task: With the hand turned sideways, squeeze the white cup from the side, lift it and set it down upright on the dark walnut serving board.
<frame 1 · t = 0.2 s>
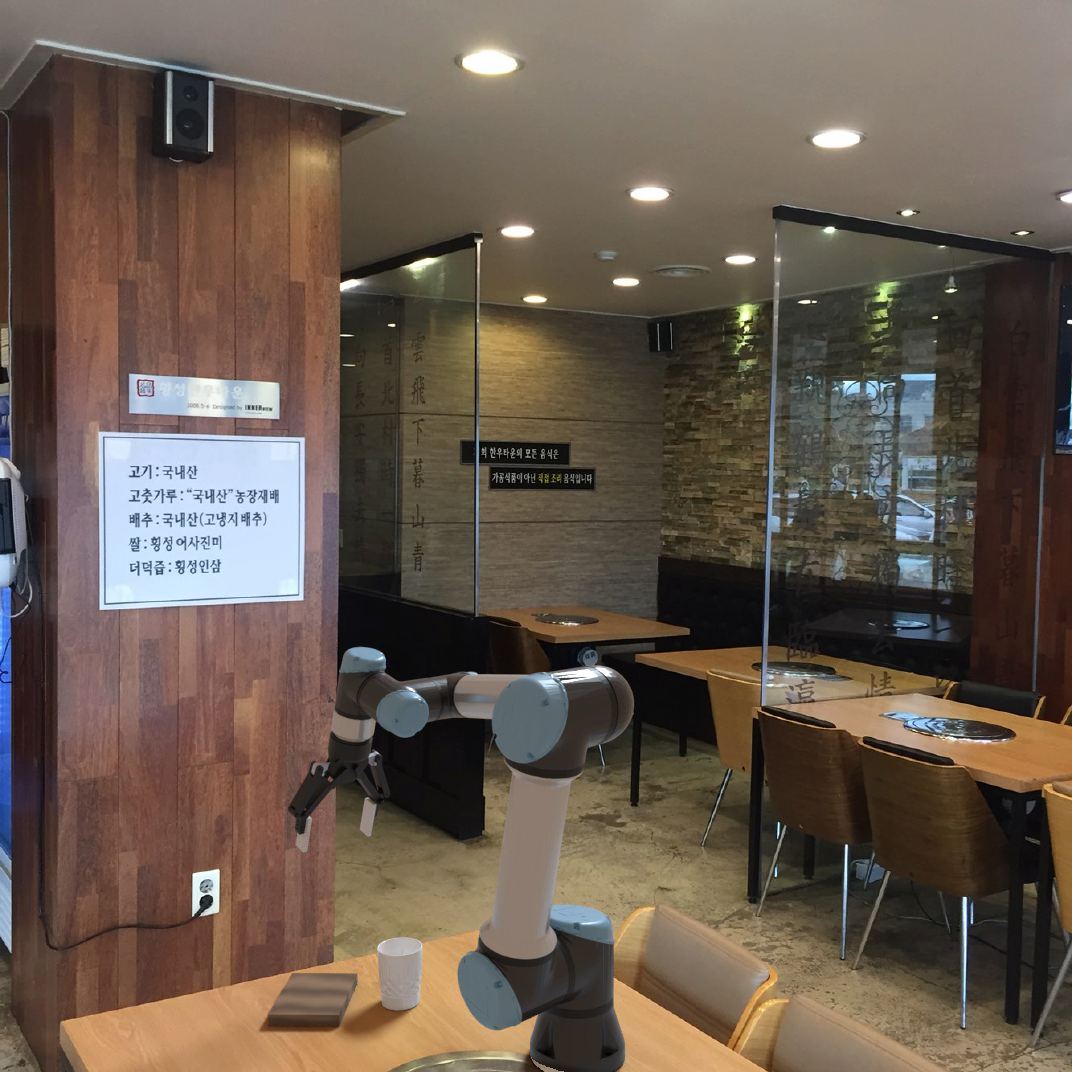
hand: (333, 840, 199), 27 cm above the table, tool tilted 15°, fingers open, 13 cm apart
white cup: (400, 1003, 193), on the table
walnut board: (314, 1004, 192), on the table
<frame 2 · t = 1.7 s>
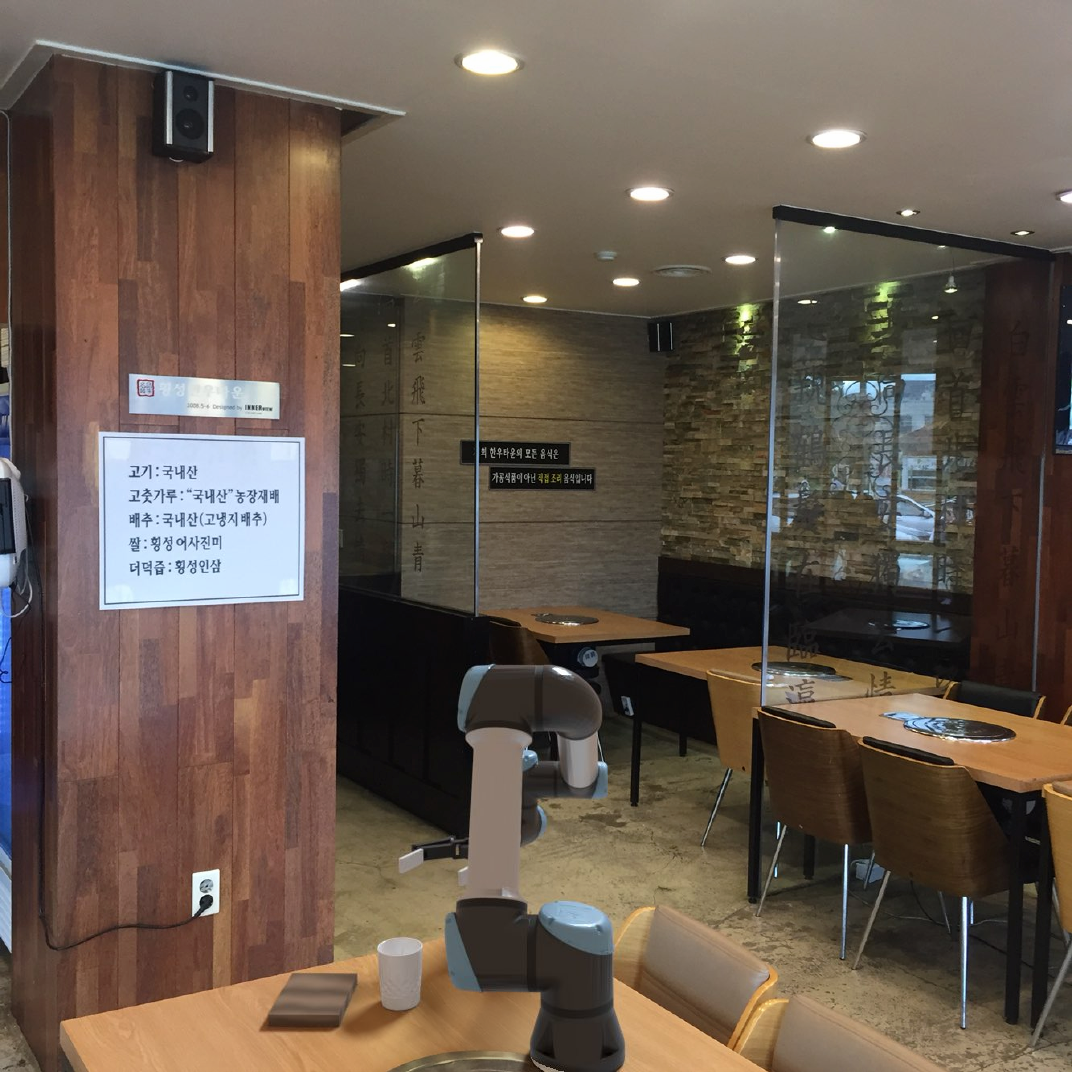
hand: (429, 872, 201), 20 cm above the table, tool horizontal, fingers open, 13 cm apart
nothing on the table moved.
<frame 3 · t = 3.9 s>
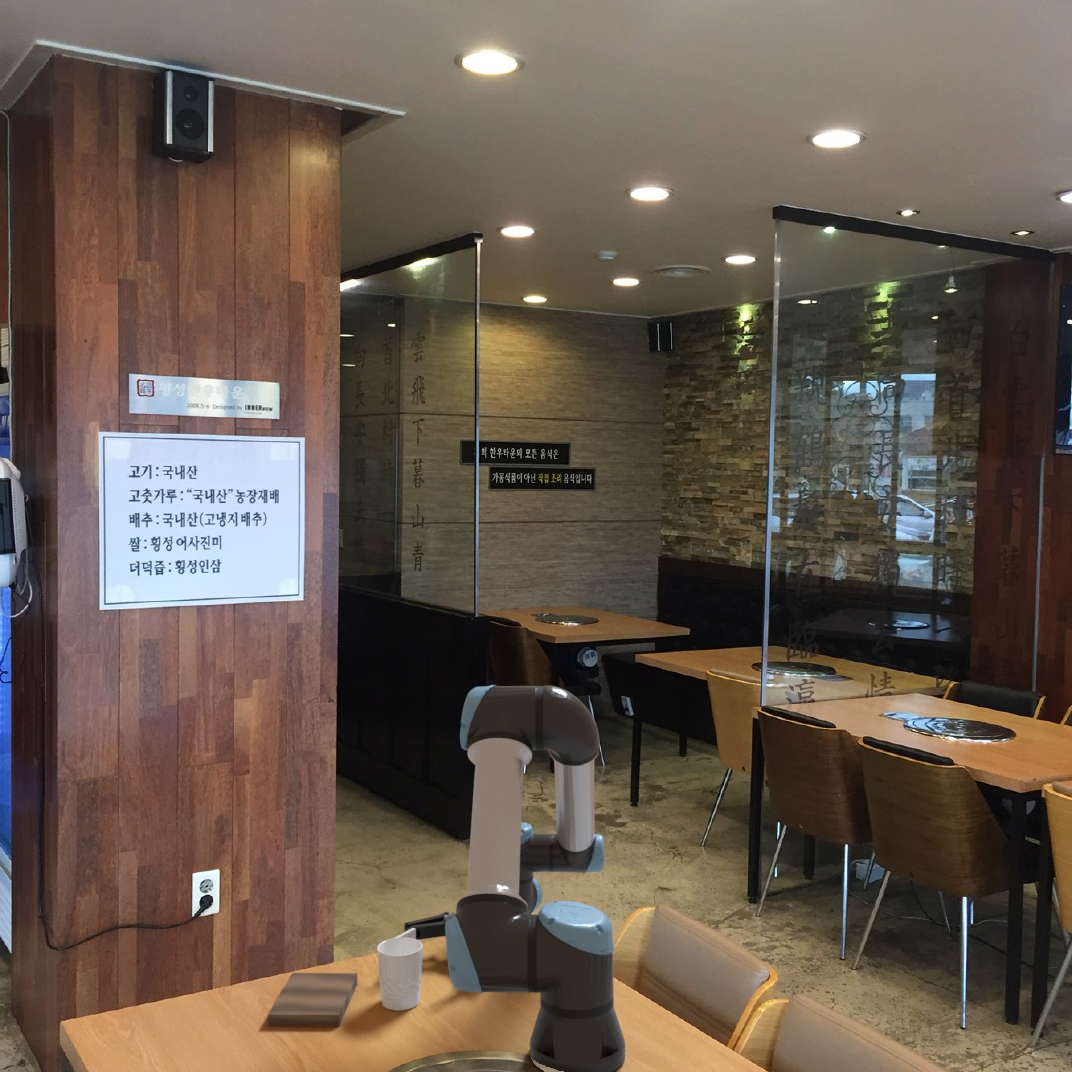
hand: (421, 955, 198), 6 cm above the table, tool horizontal, fingers open, 13 cm apart
nothing on the table moved.
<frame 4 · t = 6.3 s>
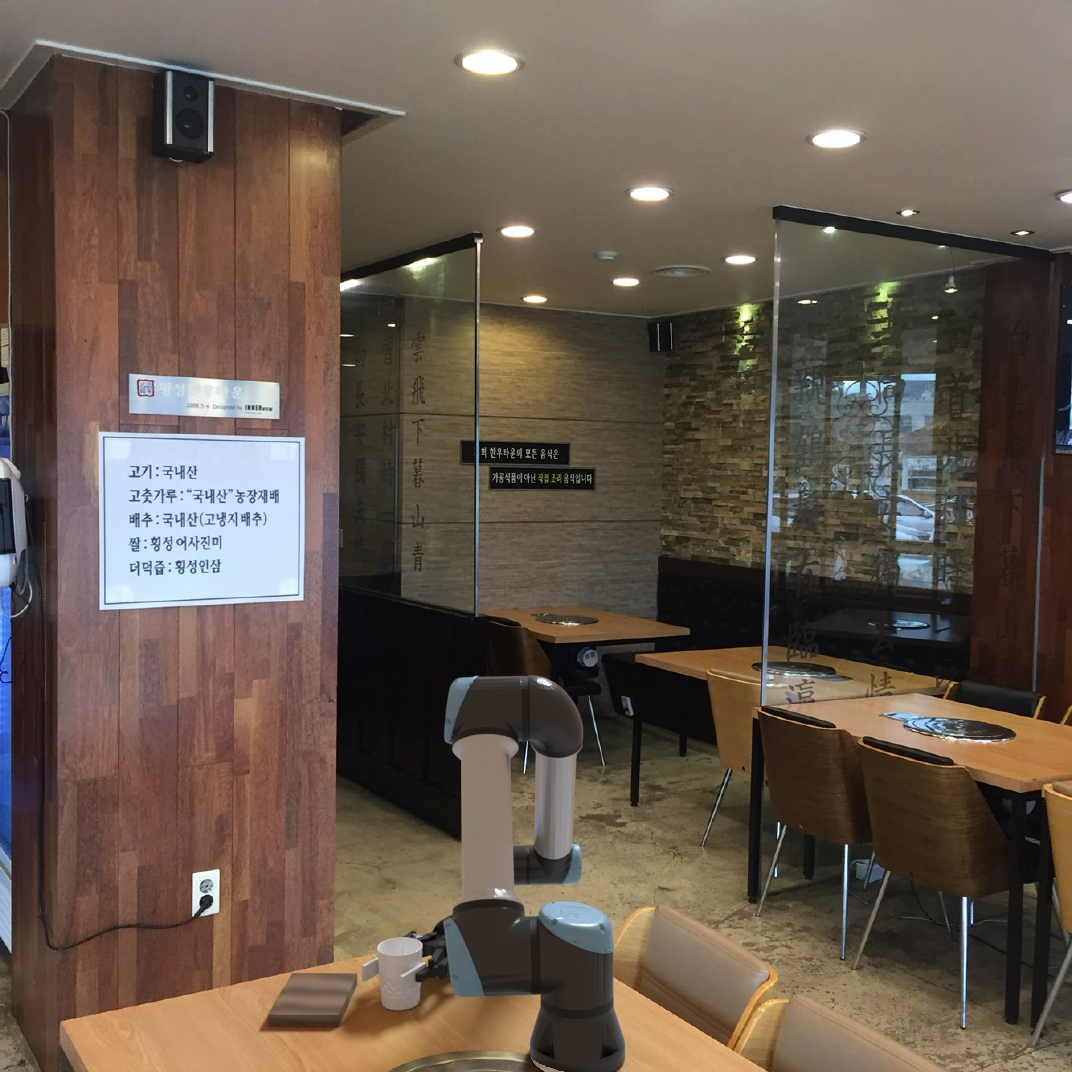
hand: (382, 978, 189), 6 cm above the table, tool horizontal, fingers closed on white cup, 8 cm apart
white cup: (400, 1003, 193), on the table, touching gripper
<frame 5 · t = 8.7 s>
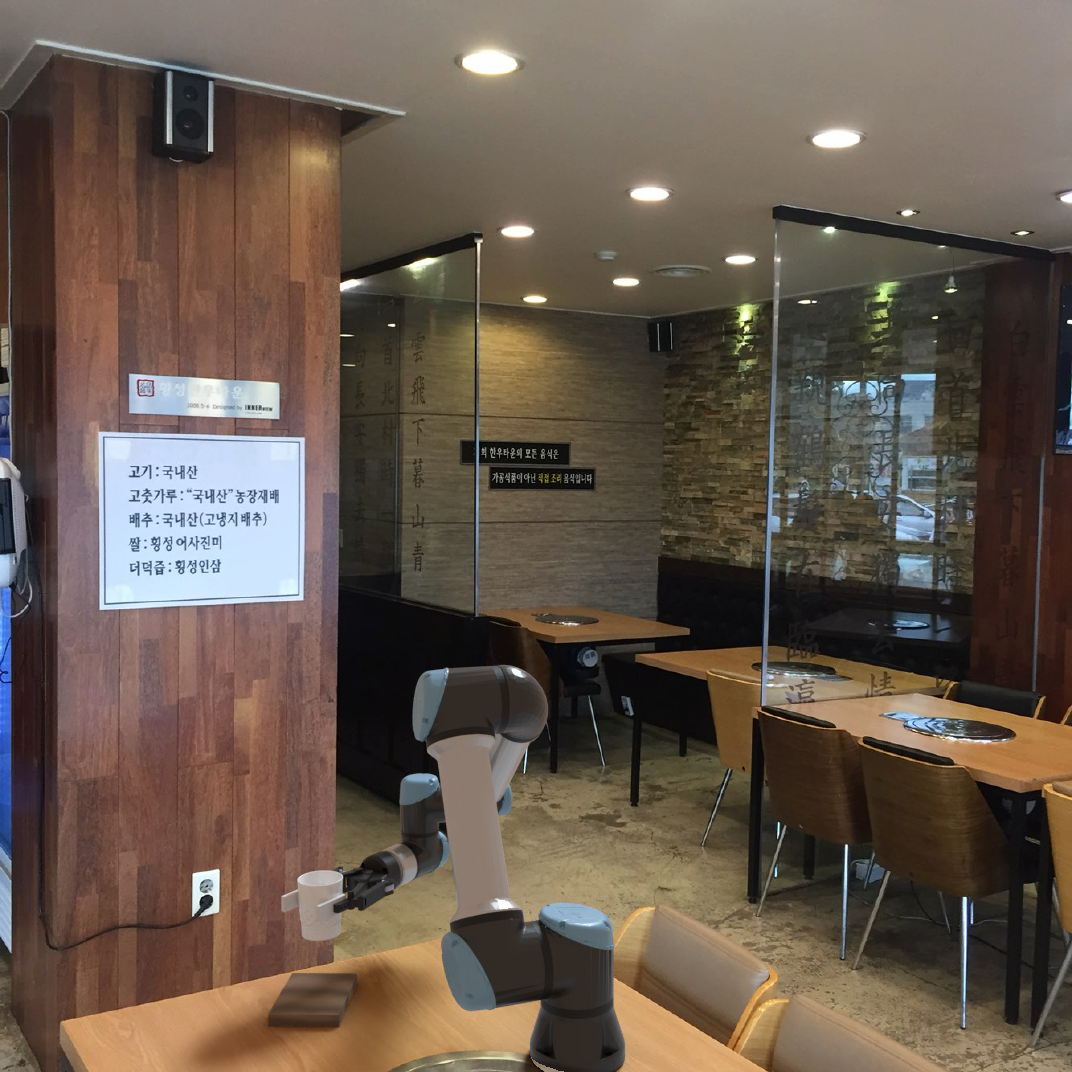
hand: (300, 909, 189), 18 cm above the table, tool horizontal, fingers closed on white cup, 8 cm apart
white cup: (321, 935, 193), point 12 cm above the table, touching gripper
when the fingers open (9 cm above the table, at t = 11.2 s): white cup drops 1 cm, resting on walnut board.
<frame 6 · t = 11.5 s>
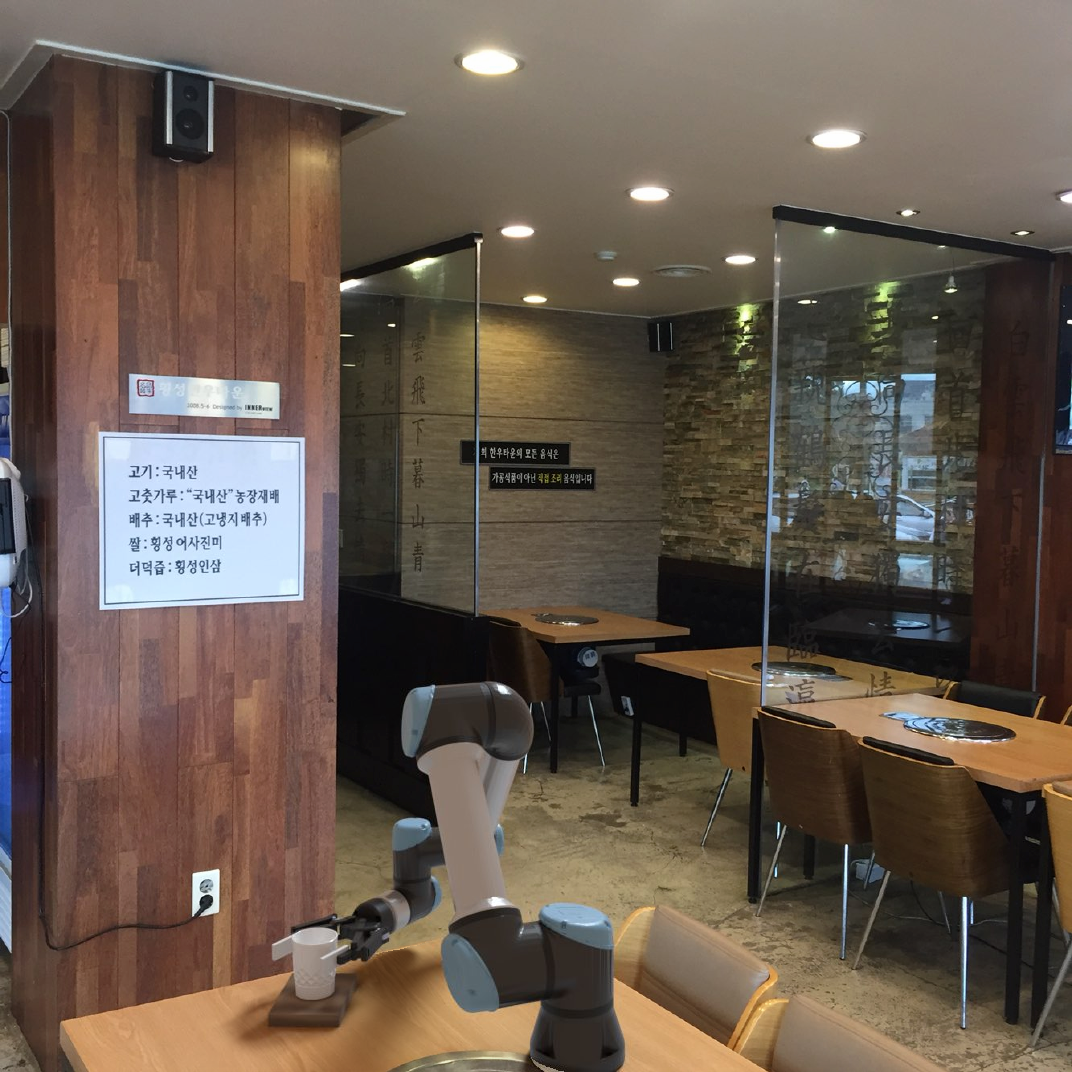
hand: (297, 959, 189), 9 cm above the table, tool horizontal, fingers open, 10 cm apart
white cup: (314, 993, 192), point 2 cm above the table, touching walnut board
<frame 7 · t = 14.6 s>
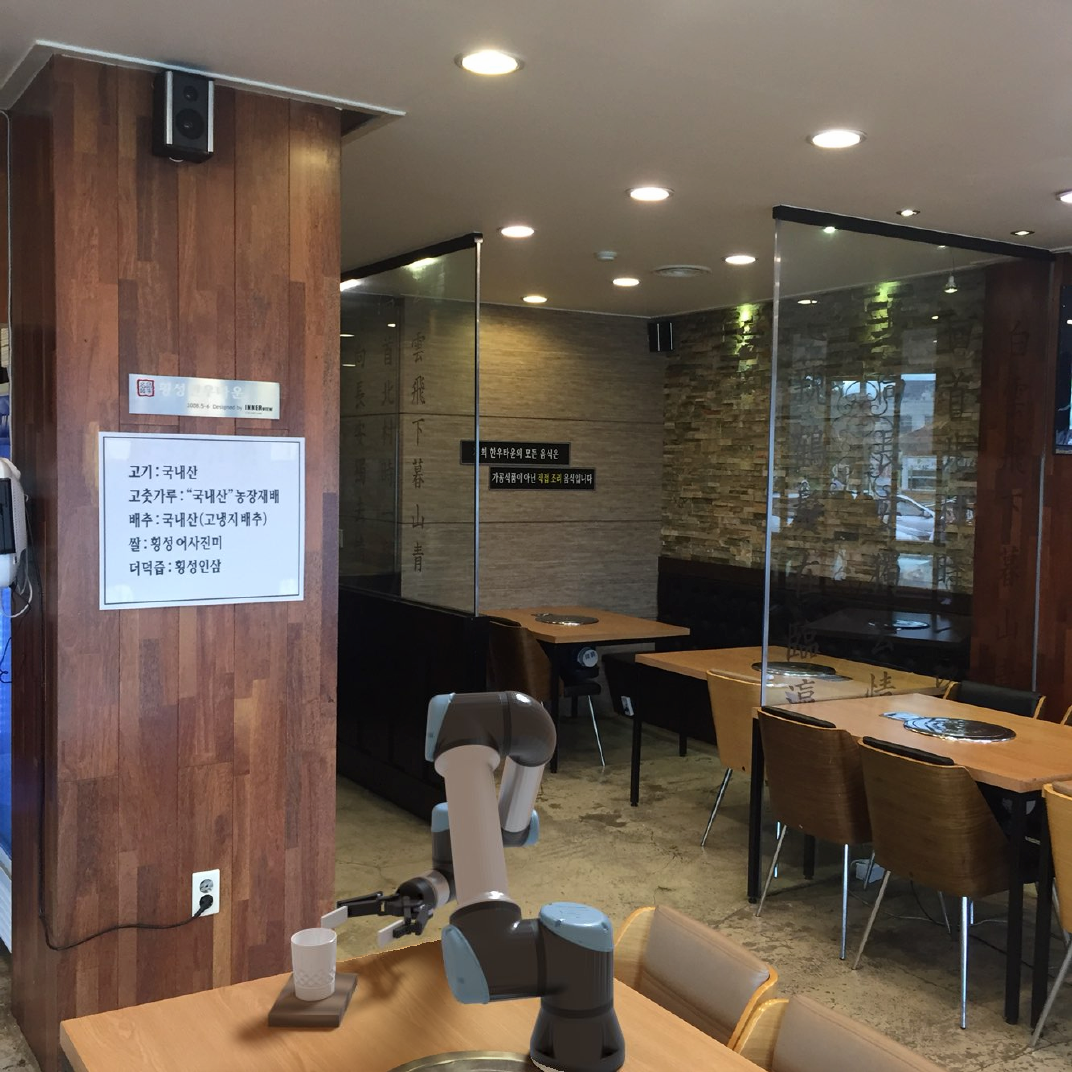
hand: (350, 932, 200), 10 cm above the table, tool horizontal, fingers open, 13 cm apart
nothing on the table moved.
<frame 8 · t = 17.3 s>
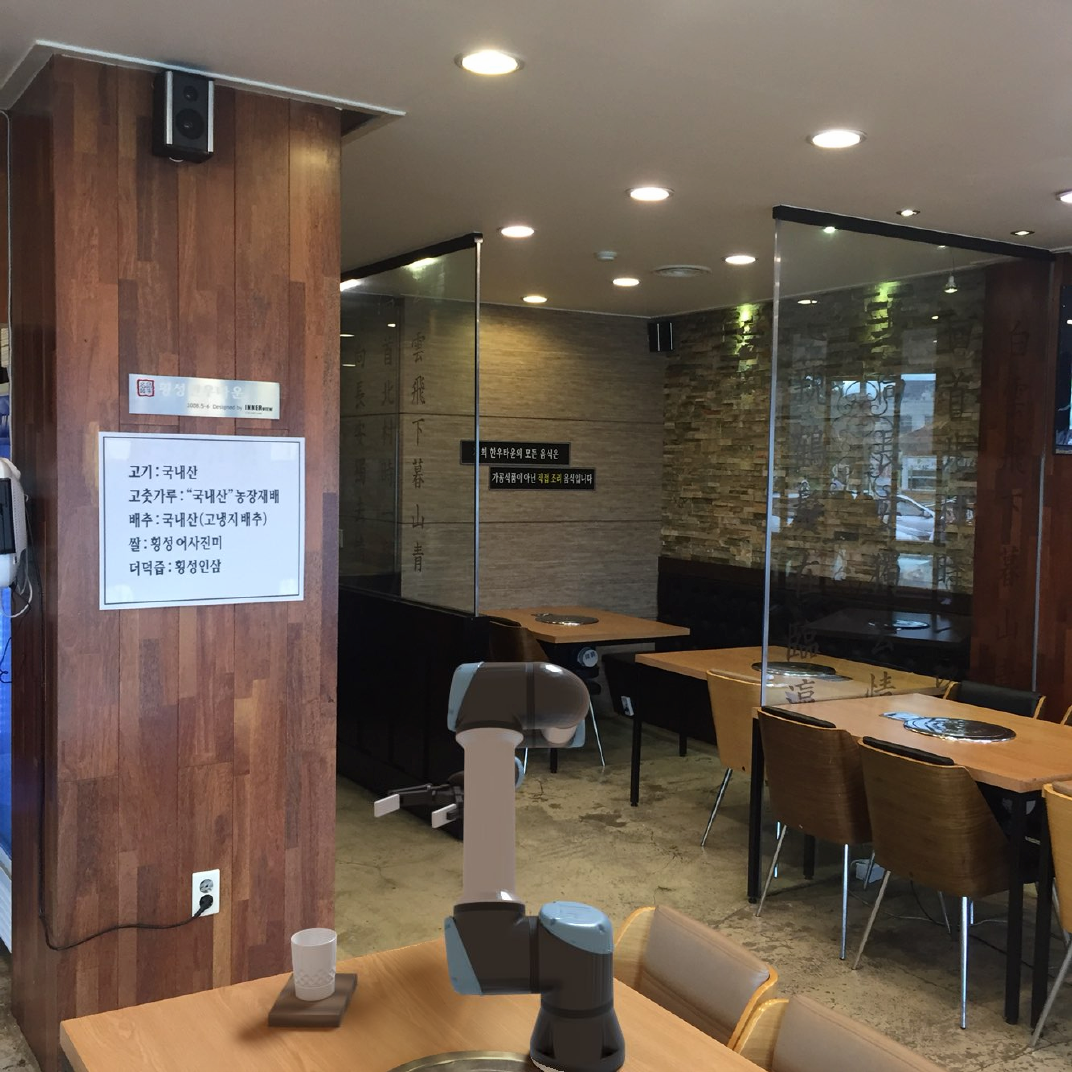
hand: (404, 814, 203), 30 cm above the table, tool horizontal, fingers open, 13 cm apart
nothing on the table moved.
at the end: white cup inside the target area on the walnut board (0.1 cm from its centre), point 1.8 cm above the walnut board's base; white cup tilted 0°; the gripper is holding nothing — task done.
